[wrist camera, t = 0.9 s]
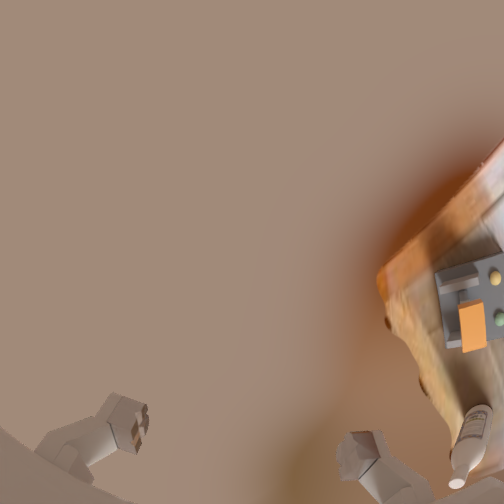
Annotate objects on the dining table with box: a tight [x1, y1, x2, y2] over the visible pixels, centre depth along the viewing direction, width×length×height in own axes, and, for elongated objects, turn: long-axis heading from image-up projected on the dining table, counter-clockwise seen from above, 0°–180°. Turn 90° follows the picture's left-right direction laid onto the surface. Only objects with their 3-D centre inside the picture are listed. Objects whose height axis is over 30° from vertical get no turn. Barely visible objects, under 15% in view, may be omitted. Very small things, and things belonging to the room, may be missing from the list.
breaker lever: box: [458, 290, 487, 353], centre depth 30 cm, size 4×6×13 cm, turn 21°
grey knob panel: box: [435, 251, 504, 349], centre depth 33 cm, size 14×14×9 cm
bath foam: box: [449, 405, 493, 489], centre depth 25 cm, size 7×7×20 cm
